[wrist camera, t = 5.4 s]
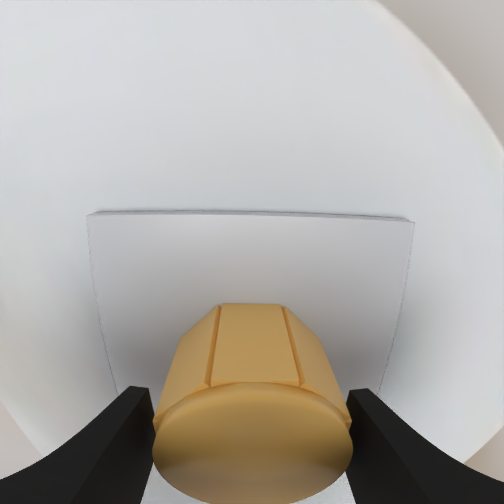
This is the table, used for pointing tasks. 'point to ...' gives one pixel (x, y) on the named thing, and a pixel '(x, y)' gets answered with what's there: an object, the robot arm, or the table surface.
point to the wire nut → (251, 410)
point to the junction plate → (247, 283)
